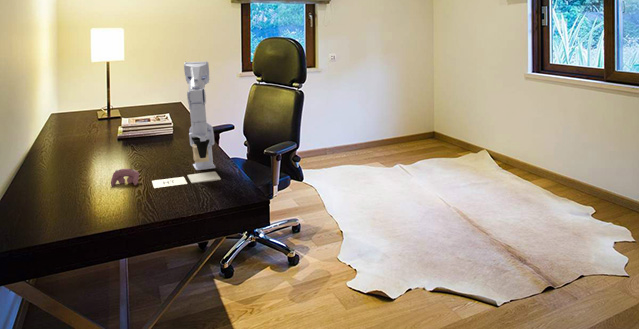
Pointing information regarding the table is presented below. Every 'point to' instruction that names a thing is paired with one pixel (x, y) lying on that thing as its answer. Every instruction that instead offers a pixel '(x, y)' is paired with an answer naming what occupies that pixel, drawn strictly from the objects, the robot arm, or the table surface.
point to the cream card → (169, 182)
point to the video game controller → (122, 173)
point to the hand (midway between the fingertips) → (201, 156)
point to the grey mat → (203, 177)
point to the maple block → (196, 155)
